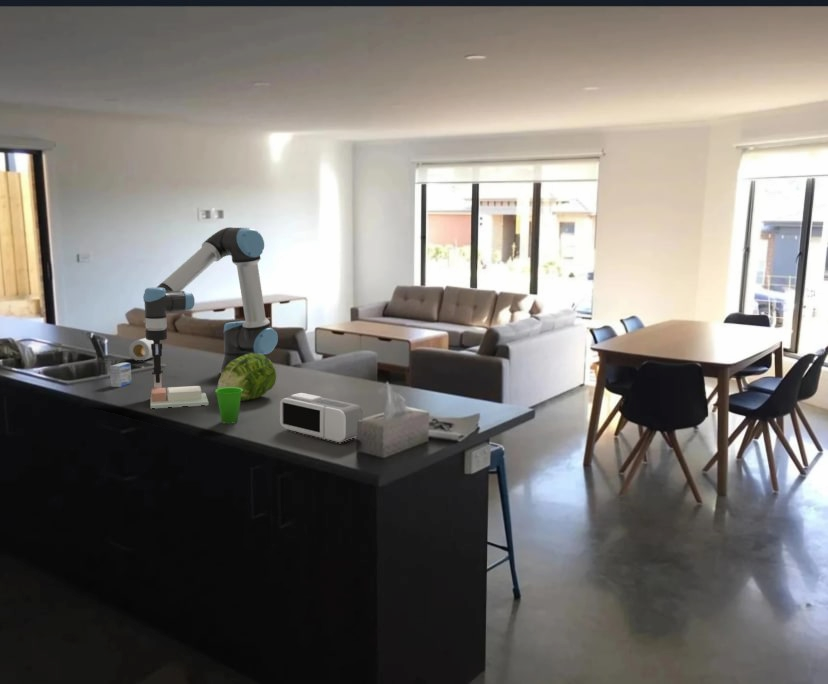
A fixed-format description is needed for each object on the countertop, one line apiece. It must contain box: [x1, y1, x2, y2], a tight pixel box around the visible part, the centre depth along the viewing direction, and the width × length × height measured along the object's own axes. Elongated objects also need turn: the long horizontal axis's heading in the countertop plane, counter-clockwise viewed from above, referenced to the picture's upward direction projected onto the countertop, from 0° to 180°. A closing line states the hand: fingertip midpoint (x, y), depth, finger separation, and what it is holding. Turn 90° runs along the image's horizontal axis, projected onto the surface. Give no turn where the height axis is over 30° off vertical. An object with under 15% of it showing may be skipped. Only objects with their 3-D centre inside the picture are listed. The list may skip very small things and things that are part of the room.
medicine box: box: [109, 362, 132, 388], centre depth 297 cm, size 8×4×9 cm, turn 168°
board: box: [149, 392, 209, 409], centre depth 272 cm, size 20×15×1 cm
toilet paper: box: [128, 337, 154, 362], centre depth 352 cm, size 10×10×10 cm
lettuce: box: [217, 353, 277, 402], centre depth 277 cm, size 17×23×17 cm
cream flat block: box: [166, 385, 203, 401], centre depth 275 cm, size 12×9×3 cm
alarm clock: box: [279, 392, 364, 442], centre depth 234 cm, size 27×9×12 cm, turn 55°
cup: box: [214, 387, 243, 424], centre depth 247 cm, size 9×9×11 cm
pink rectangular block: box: [151, 387, 167, 402], centre depth 272 cm, size 5×9×3 cm, turn 20°
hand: (158, 390), depth 278 cm, fingers closed
